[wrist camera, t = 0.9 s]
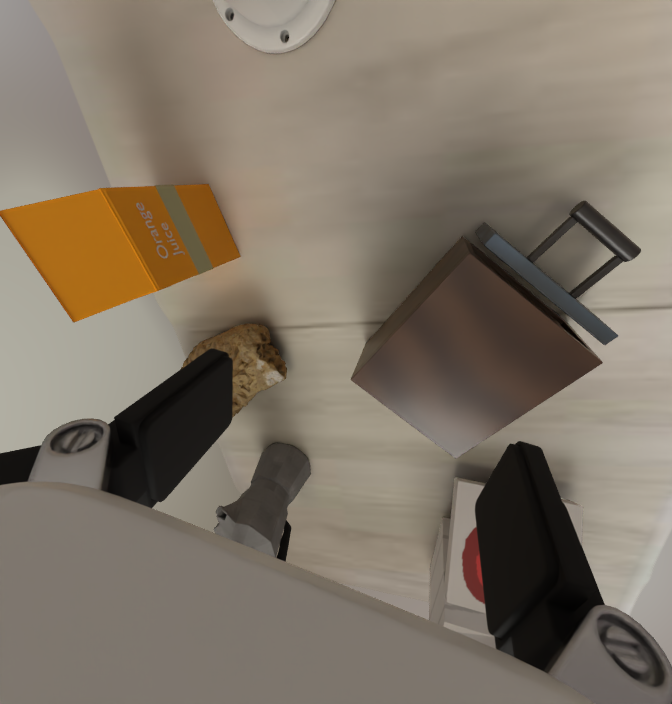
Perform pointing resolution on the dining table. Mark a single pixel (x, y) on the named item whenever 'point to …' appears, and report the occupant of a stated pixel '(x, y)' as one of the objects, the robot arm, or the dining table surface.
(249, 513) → the coffeepot
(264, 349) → the sponge
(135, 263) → the orange juice
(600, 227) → the drawer
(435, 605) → the pizza boxes
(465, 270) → the cabinet
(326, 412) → the dining table surface
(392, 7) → the dining table surface
